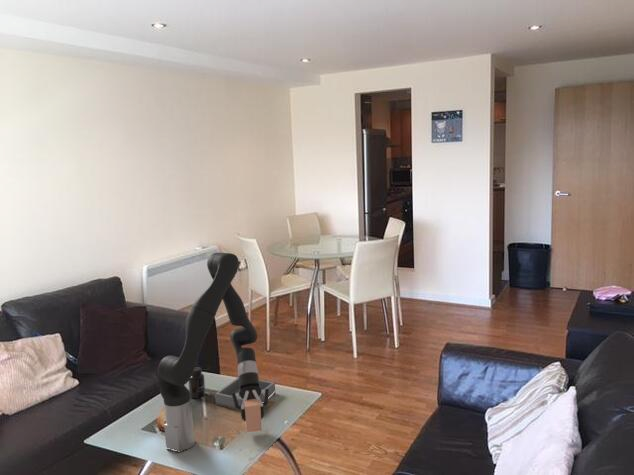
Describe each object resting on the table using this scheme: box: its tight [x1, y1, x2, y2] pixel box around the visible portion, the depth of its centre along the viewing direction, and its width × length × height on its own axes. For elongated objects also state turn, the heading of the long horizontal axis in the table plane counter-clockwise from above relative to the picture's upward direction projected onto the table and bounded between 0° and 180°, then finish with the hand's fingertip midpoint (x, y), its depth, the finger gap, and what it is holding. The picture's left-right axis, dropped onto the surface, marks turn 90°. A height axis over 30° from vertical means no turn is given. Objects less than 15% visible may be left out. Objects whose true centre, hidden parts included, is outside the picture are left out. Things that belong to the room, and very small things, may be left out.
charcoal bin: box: [214, 376, 276, 410], centre depth 222 cm, size 18×18×5 cm
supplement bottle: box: [187, 366, 206, 399], centre depth 227 cm, size 7×7×12 cm
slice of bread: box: [156, 407, 166, 432], centre depth 210 cm, size 18×18×4 cm
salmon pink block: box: [244, 399, 262, 433], centre depth 193 cm, size 6×6×10 cm
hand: (253, 419), depth 191 cm, fingers closed on salmon pink block, 5 cm apart
